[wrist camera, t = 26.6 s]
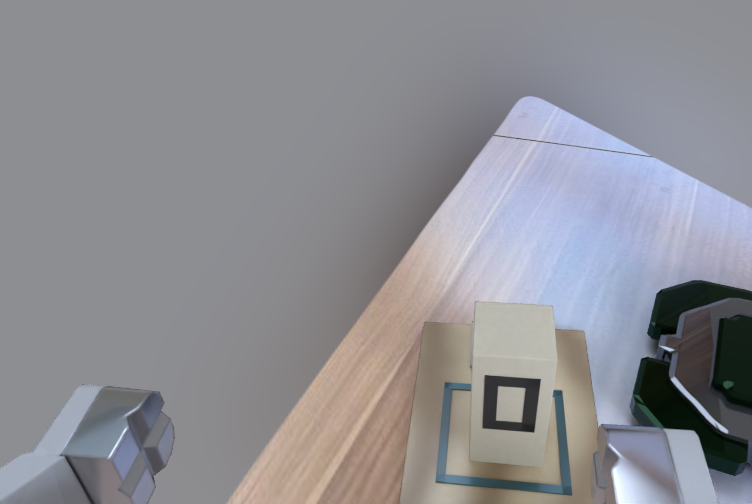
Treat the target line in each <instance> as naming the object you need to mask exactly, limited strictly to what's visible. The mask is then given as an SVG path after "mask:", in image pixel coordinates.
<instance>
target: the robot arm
mask: <svg viewBox="0 0 752 504" xmlns="http://www.w3.org/2000/svg"><path fill="white" fill-rule="evenodd" d="M163 405H164V401H163V398H162V396H161V394H160V392H157V391H149V390H140V389H130V388H120V387H111V386H100V385H88V384H83V385H81V386H80V387H79V388H77V389H76V390H75V391H74V392H73V394H72V395H71V397H70V398H69V399H68V401H67V402H66V404H65V405H64V407H63V408H62V410H61V411H60V413H59V414H58V416H57V417H56V418H55V420H54V421H53V423H52V424H51V426H50V427H49V429H48V430H47V432H46V433H45V435H44V436H43V437H42V439H41V440H40V442H39V443H38V445H37V446H36V448H35V449H34V451H33V452H32V453H24V454H22V455H20V456H19V457H17V458H16V459H14V460H13V461H11V462H9V463H8V464H6V465H5V466H3V467H2V468H0V504H148V503H149V501H150V499H151V496H152V494H153V492H154V490H155V488H156V486H155V482H154V477H153V476H154V475H156V474H157V473H158V472H159V471H160V470H162V469H163V468H165V467H166V465H167V463H168V460H169V458H170V456H171V454H172V449H173V444H174V439H175V437H174V426H173V424H172V421H171V419H170V418H169V417H168V416H167V415H166V414H164V413H163V412H162V411H161V409H162V407H163ZM597 444H598V451H596V452H595V453H593V457H592V463H591V475H590V486H591V499H592V504H719V502H718V499H717V496H716V492H715V489H714V486H713V483H712V479H711V476H710V473H709V469H708V466H707V463H706V460H705V456H704V453H703V450H702V446H701V443H700V440H699V437H698V435H697V434H696V433H695V431H691V430H677V429H664V428H663V429H661V428H659V427H643V426H627V425H611V424H601V425H600V427H599V429H598V433H597Z"/></svg>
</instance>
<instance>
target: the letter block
mask: <svg viewBox="0 0 752 504" xmlns="http://www.w3.org/2000/svg"><path fill="white" fill-rule="evenodd" d="M557 361H558V360H557V348H556V337H555V326H554V315H553V306H552V305H535V304H516V303H498V302H479V301H476V302H475V311H474V330H473V348H472V374H471V406H470V437H469V461H478V462H489V463H499V464H510V465H521V466H532V467H542V466H543V459H544V452H545V445H546V438H547V431H548V424H549V417H550V410H551V403H552V396H553V389H554V382H555V375H556V368H557Z"/></svg>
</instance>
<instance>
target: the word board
mask: <svg viewBox="0 0 752 504" xmlns="http://www.w3.org/2000/svg"><path fill="white" fill-rule="evenodd" d="M473 330H474V321H472V324H456V323H439V322H424V327H423V334H422V342H421V349H420V356H419V363H418V370H417V377H416V384H415V391H414V398H413V406H412V413H411V420H410V427H409V434H408V441H407V448H406V455H405V462H404V470H403V477H402V484H401V491H400V498H399V504H592V499H591V486H590V475H591V463H592V457H593V453H595V452H596V451H598V444H597V433H598V423H597V417H596V410H595V403H594V396H593V389H592V382H591V375H590V368H589V361H588V354H587V347H586V340H585V333H584V331H578V330H561V329H555V337H556V348H557V360H558V361H557V368H556V375H555V382H554V389H553V396H552V403H551V410H550V417H549V424H548V431H547V438H546V445H545V452H544V459H543V466H542V467H532V466H521V465H510V464H499V463H489V462H478V461H469V437H470V406H471V374H472V348H473Z"/></svg>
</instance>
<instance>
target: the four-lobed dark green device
mask: <svg viewBox="0 0 752 504" xmlns="http://www.w3.org/2000/svg"><path fill="white" fill-rule="evenodd" d="M647 334H648V335H649V336H650V337H651V338H653V339H657V340H659V344H658V348H657V351H656V355H655V359H654V358H650V357H646V358H642V359H641V362H640V366H639V369H638V374H637V378H636V382H635V386H634V391H633V395H632V399H631V403H630V408H631V412H632V415H633V416H634V417H635V418H636V419H637V421H638V422H639V423H640V424H641V425H642V426H643V427H659V428H661V429H663V428H664V429H677V430H691V431H695V433H696V434H697V435H698V437H699V440H700V443H701V446H702V450H703V453H704V456H705V460H706V463H707V466H708V468H711V469H715V470H718V471H721V472H724V473H727V474H730V475H733V476H736V475H738V474H741V473H742V472H743V470H744V467H745V465H746V463H749V464H752V291H749V290H744V289H739V288H735V287H730V286H725V285H721V284H716V283H712V282H707V281H702V280H693V281H689V282H686V283H683V284H679V285H676V286H672V287H669V288H665V289H662V290H660V291H659V292H658V293H657V294H656V298H655V302H654V306H653V311H652V315H651V319H650V323H649V328H648V332H647Z"/></svg>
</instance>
